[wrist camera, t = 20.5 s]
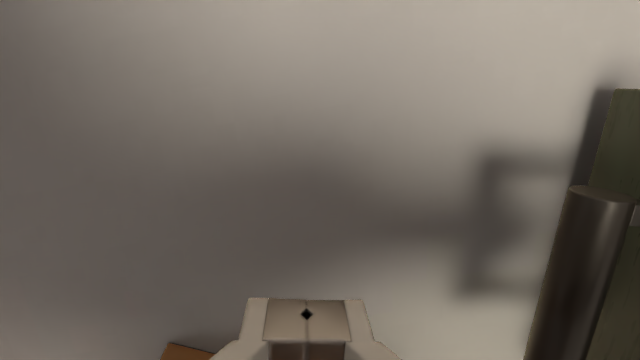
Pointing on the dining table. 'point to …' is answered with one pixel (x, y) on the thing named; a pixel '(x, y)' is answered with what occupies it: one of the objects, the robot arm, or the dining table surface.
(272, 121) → the dining table surface
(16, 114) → the dining table surface
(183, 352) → the stand
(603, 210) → the drawer
